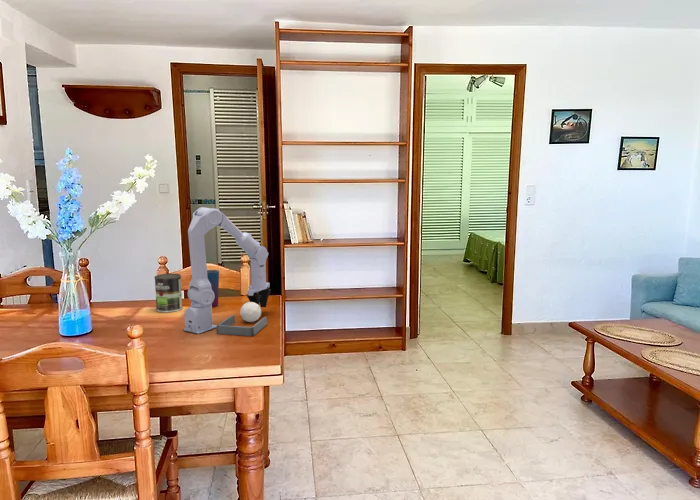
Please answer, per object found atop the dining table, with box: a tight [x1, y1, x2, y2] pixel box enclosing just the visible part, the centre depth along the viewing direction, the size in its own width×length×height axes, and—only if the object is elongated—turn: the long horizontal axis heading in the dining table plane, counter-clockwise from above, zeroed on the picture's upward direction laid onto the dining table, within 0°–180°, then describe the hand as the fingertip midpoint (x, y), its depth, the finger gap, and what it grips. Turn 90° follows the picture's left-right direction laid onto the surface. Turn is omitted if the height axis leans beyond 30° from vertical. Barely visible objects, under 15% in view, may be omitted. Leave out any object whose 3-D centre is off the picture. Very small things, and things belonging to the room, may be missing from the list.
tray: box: [215, 314, 268, 337], centre depth 183 cm, size 14×14×3 cm
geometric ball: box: [239, 301, 262, 323], centre depth 191 cm, size 8×8×8 cm
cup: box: [207, 269, 220, 308], centre depth 213 cm, size 7×7×15 cm
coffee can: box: [154, 273, 183, 314], centre depth 207 cm, size 10×10×14 cm
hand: (259, 309), depth 199 cm, fingers open, 6 cm apart
